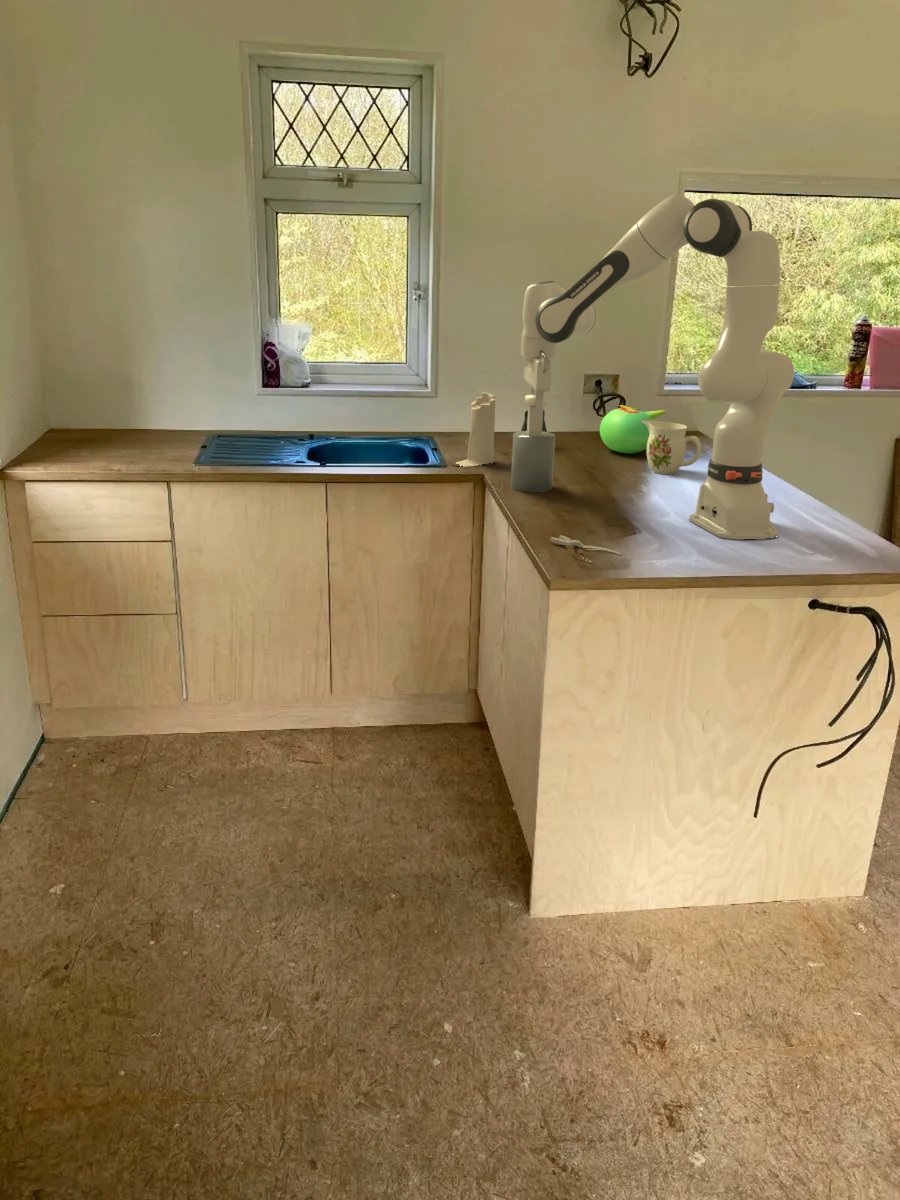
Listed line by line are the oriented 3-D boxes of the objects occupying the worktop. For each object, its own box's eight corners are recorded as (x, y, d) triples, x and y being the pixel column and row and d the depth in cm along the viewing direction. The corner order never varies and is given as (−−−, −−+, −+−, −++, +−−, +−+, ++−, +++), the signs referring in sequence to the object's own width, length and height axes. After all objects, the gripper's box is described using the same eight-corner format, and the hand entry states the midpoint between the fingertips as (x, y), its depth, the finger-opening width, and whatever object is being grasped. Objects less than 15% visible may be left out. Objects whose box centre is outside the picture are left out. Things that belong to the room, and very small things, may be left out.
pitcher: (691, 480, 257) (697, 430, 252) (630, 471, 266) (634, 423, 261) (703, 472, 266) (709, 424, 261) (644, 464, 275) (648, 417, 270)
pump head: (546, 433, 239) (548, 398, 236) (525, 433, 238) (527, 398, 235) (543, 429, 244) (545, 394, 241) (522, 429, 244) (523, 394, 240)
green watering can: (588, 449, 293) (591, 402, 288) (630, 444, 301) (635, 398, 295) (622, 460, 278) (627, 411, 273) (667, 456, 286) (672, 408, 280)
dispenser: (555, 492, 242) (560, 409, 234) (514, 492, 241) (517, 409, 233) (548, 482, 252) (552, 402, 244) (508, 482, 251) (511, 402, 244)
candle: (446, 464, 270) (447, 394, 263) (482, 458, 278) (484, 390, 271) (462, 468, 265) (464, 398, 258) (498, 462, 273) (500, 393, 266)
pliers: (590, 558, 189) (539, 540, 199) (590, 565, 189) (538, 547, 200) (623, 549, 194) (571, 532, 205) (622, 556, 195) (570, 539, 206)
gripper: (558, 354, 224) (555, 411, 229) (544, 344, 243) (541, 397, 248) (532, 353, 224) (529, 411, 229) (520, 344, 243) (517, 397, 248)
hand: (535, 404), depth 239 cm, fingers closed on pump head, 5 cm apart
